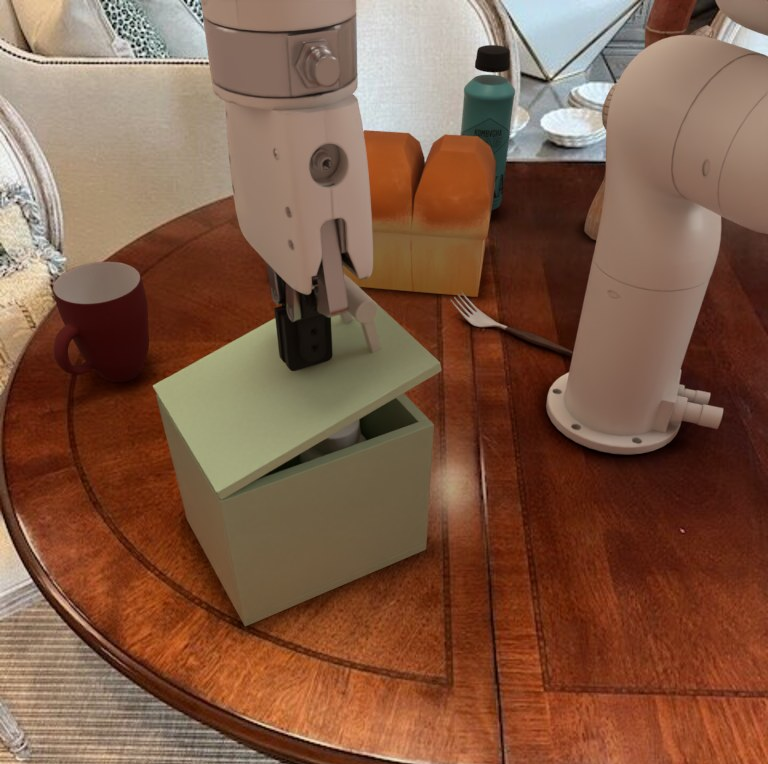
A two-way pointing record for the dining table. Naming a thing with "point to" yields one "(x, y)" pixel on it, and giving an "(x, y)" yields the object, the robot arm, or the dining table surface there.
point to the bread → (428, 212)
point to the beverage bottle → (490, 109)
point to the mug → (103, 320)
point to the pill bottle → (335, 442)
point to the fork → (506, 327)
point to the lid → (289, 392)
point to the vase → (662, 23)
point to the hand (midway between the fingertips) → (306, 359)
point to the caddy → (314, 513)
